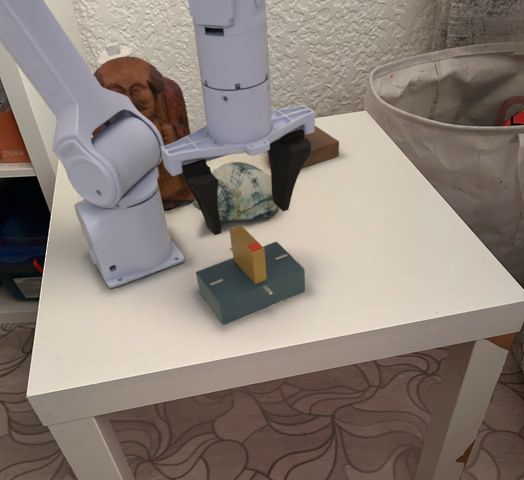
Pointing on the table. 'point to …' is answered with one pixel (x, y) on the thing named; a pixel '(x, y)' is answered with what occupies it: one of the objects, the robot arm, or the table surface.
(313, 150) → the button block
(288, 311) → the table surface
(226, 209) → the seashell
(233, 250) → the tap handle
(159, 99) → the wooden figurine
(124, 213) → the robot arm
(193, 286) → the table surface
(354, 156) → the table surface
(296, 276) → the plate
